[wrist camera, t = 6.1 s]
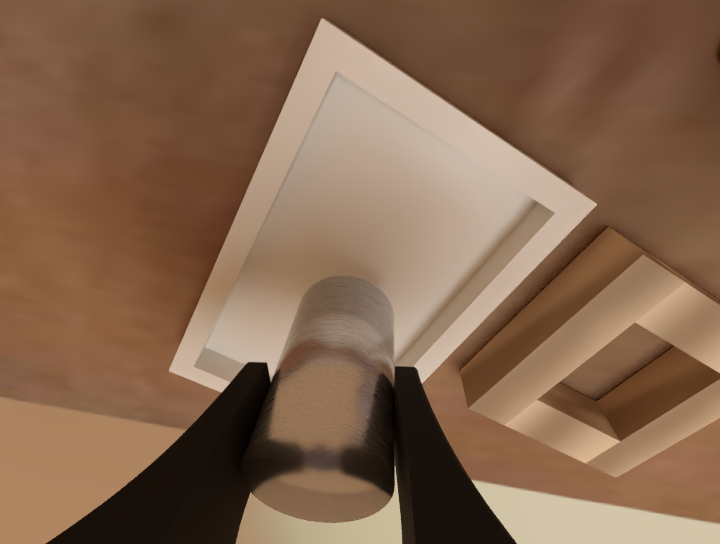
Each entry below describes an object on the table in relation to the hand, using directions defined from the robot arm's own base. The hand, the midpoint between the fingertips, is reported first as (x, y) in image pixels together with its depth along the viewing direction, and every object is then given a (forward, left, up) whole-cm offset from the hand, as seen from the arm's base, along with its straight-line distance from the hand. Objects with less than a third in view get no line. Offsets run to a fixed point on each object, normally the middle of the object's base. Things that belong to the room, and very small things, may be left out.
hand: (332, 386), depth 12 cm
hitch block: (-13, -3, -7) cm, 15 cm away
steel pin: (0, 0, -4) cm, 4 cm away
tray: (0, 0, -7) cm, 7 cm away
